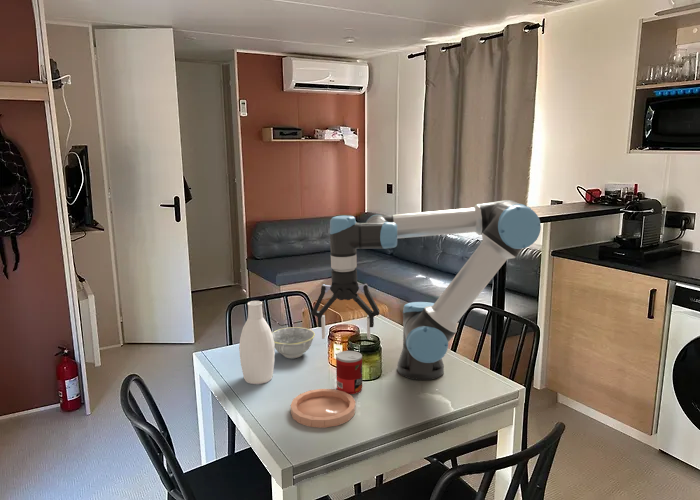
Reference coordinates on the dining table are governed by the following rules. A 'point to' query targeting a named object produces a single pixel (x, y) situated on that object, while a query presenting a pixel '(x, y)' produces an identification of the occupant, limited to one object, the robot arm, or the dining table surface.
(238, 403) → the dining table surface
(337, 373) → the canned food
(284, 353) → the bowl
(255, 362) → the bottle
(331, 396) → the tray
